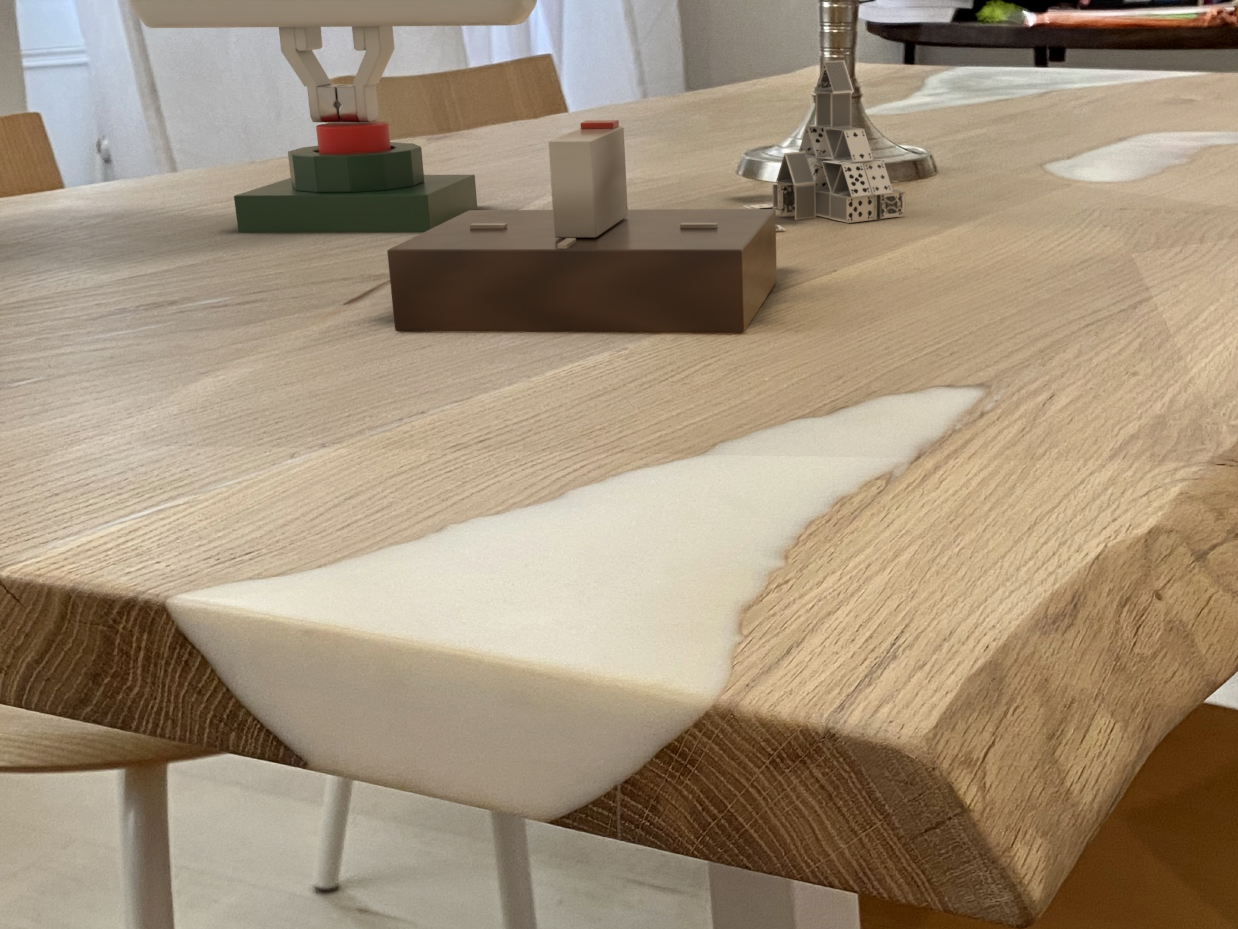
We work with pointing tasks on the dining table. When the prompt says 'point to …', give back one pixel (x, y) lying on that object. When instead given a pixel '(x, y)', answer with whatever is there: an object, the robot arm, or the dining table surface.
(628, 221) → the brown slotted block
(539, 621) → the dining table surface
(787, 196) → the house of cards
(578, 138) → the beige block
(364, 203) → the button block
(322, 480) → the dining table surface
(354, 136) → the button
